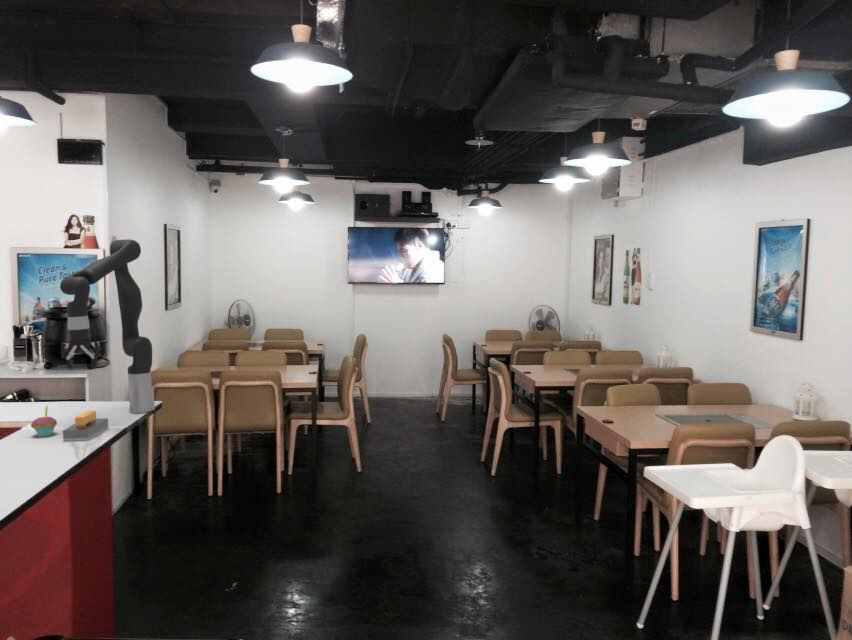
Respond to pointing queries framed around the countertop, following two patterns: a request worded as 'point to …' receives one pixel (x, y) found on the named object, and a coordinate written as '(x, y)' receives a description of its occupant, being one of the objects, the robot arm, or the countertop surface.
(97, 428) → the metal panel
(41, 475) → the countertop surface
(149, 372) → the robot arm
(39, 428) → the cupcake
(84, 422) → the orange arch block
